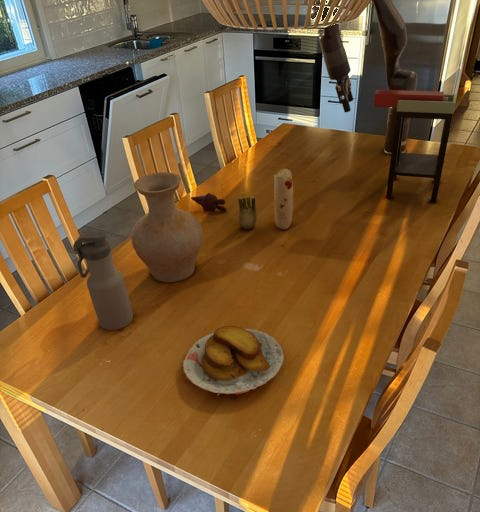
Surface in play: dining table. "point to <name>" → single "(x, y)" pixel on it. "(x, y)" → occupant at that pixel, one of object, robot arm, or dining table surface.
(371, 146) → the dining table surface
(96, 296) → the water bottle
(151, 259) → the vase
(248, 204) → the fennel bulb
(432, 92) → the red bar
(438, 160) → the stand
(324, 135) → the dining table surface
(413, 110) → the olive green shallow box
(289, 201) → the food model
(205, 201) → the icecream
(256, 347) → the food on plate
